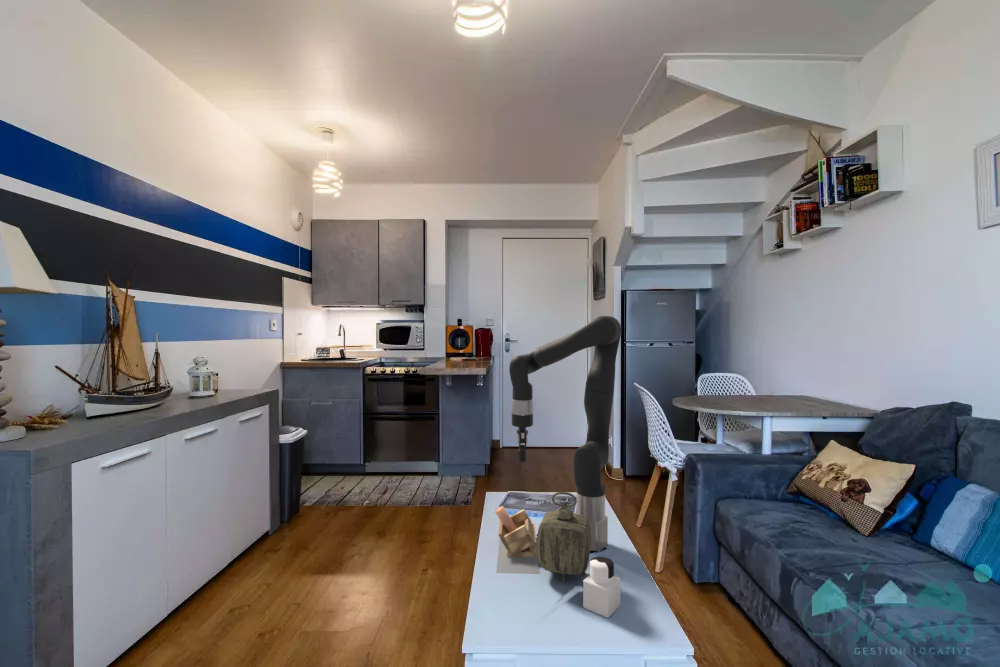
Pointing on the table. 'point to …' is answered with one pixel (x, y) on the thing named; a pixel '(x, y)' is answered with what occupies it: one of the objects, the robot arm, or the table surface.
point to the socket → (519, 536)
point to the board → (516, 562)
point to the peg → (505, 519)
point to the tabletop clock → (564, 540)
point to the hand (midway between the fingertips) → (522, 458)
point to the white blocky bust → (601, 587)
